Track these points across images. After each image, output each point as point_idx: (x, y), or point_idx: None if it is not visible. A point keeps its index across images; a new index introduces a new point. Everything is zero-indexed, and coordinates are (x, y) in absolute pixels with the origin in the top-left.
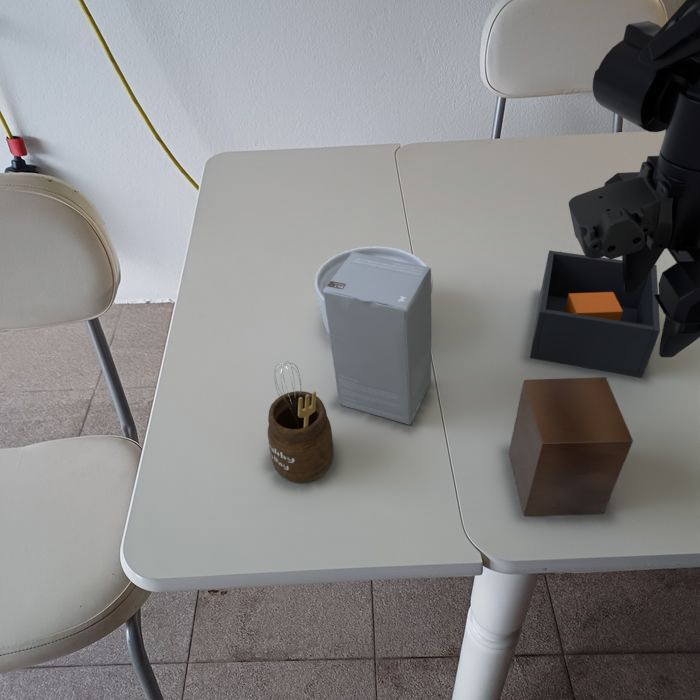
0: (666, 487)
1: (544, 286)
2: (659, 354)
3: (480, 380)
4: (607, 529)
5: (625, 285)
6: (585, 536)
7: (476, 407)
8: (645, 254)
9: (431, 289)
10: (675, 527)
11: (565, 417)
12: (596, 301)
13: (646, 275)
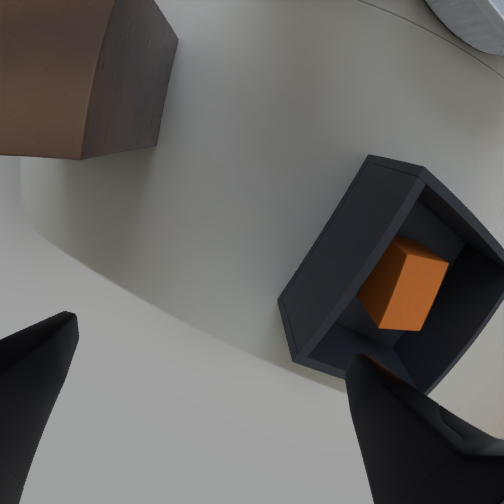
0: (86, 233)
1: (473, 217)
2: (69, 312)
3: (340, 54)
4: None
5: (365, 363)
6: None
7: (283, 25)
8: (394, 464)
9: (501, 25)
10: (40, 215)
11: (9, 36)
12: (415, 298)
13: (354, 423)
